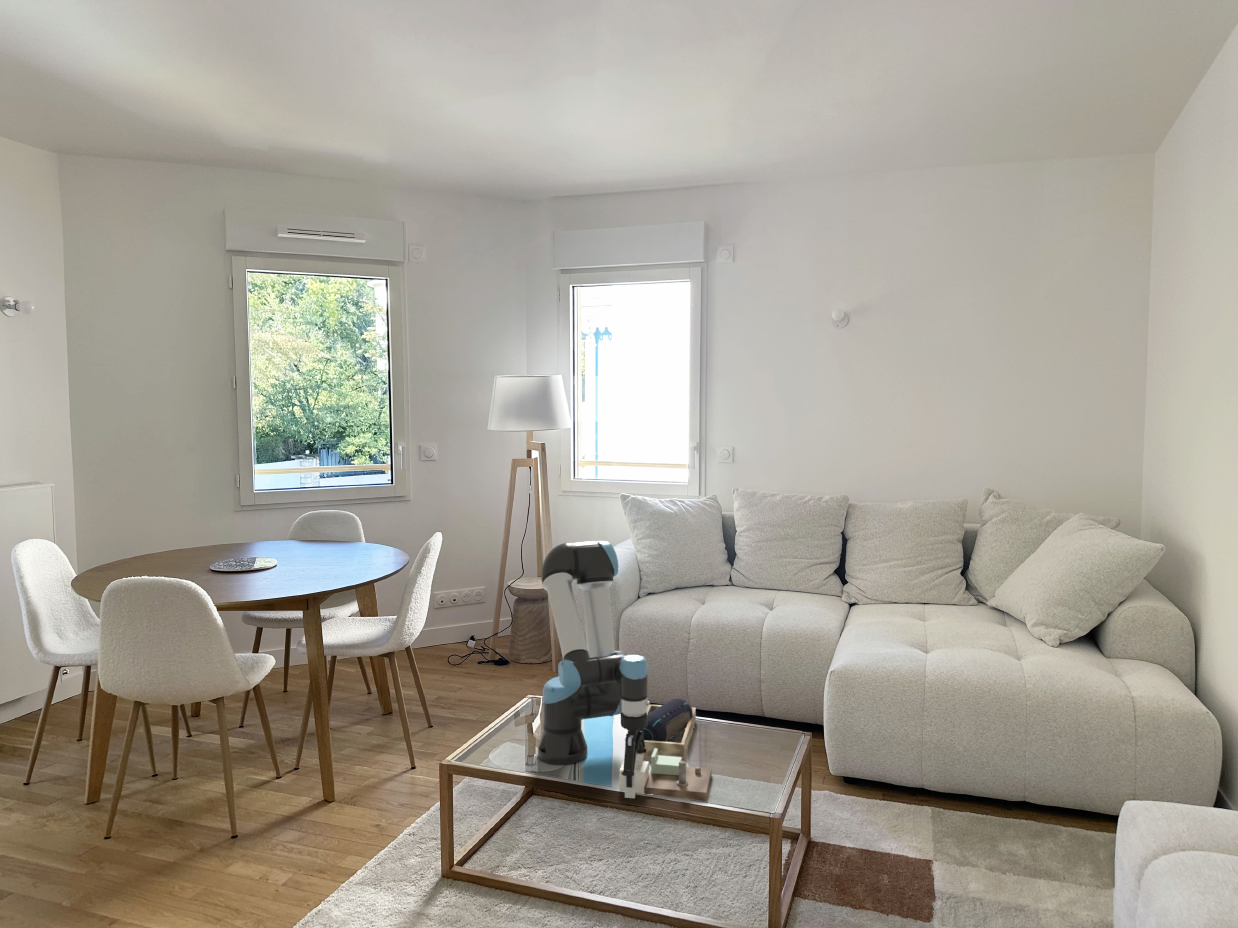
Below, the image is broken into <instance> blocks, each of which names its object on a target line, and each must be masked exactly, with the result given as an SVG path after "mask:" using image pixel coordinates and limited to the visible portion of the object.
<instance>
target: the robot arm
mask: <svg viewBox="0 0 1238 928" xmlns="http://www.w3.org/2000/svg"><path fill="white" fill-rule="evenodd" d="M543 560H544V561H543V563H542V566H541V572H540V576H541V584H542V588H543V589H544V590H545V591H546V592H547V595H548V600H549V603H550V608H551V613H552V616H553V621H554V624H555V629H556V630H555V631H556V633H557V638H558V641H559V647H560V650H561V654H562V660H561V661H559V662H558V664H557V666H558V667H557V673H558V676H556V677H552V678H551V679H549V680H547V682H545V684H544V686H543V688H542V690H543V691H542V699H541V700H542V723H543V724H542V725H543V727H542V728H543V729H542V730H543V731H542V734H541V737H540V740H539V743H538V747H537V757H538V759H539V760H541V761H542V762H544V763H546V764H552V765H562V766H564V765H570V764H575V763H579V762H581V761H583V760H584V759H586V757H587V756H588V744H587V742H586V738H585V736H584V733H583V729H582V720H589V719H590V720H591V719H596V718H603V717H604V718H605V717H614V716H617V715H620V726H621V727H622V728H623V729H624V730H627V733H626V735H625V738H624V741H625V743H624V746H625V747H624V758H623V762H624V770H623V772H622V775H623V776H625V792H624V798H625V799H626V798H627V799H628V798H629V799H636V793H635V774H634V769H635V761H645V758H644V754H642V753H646V749H644V748H645V741H644V733H643V729H644V728H646V727H647V725H648V714H647V707H648V705H651V703H650V701H649V700H648V673H649V669H648V660H647V659H646V657H645V656H643V655H638V654H627V653H625V652H624V651H622V650H621V651H620V650H616V649H615V638H614V628H613V615H612V604H611V594H610V593H611V592H610V587H611V586H612V584H613V583H614V578H615V577H616V576H617V575H618V573H619V559H618V555H617V553H616V549H615V548H614V546H613V545H612V543H610V542H609V541H606V540H591V541H589V540H588V541H579V542H564V543H560V544H558V545H556V546H555V547H553V548H552V549H551V550H550V551H549V552H548V553H547V554H546V557H545V558H544V559H543ZM574 580H576V586H577V587H578V588H579V589H580V590H581V591H582V602H583V612H584V613H583V615H584V624H585V634H584V629H583V625H582V621H581V617H580V614H579V609H578V607H577V606H578V605H577V603H576V598H575V594H574V590H573V587H572V585H573V583H574ZM636 752H637V753H636Z"/></svg>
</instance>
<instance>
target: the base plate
mask: <svg viewBox="0 0 1238 928" xmlns="http://www.w3.org/2000/svg"><path fill="white" fill-rule="evenodd" d="M711 779H712V768H708V767H707V768H705V767H700V766H695V767H692V766H687V762H686V761H685V760H684V761H680V762H679V776H678V775H666V774H654V773H651V770H650V771H649V776H648V779H647V781H646V784H645V787H644V793H643V794H644V795H647V794H653V795H652V796H658V795H659V797H660V796H662V797H670V798H682V799H683V798H684V799H691V800H693V799H694V800H704V801H705V800H707V799H708V793H709V788H710V784H711Z"/></svg>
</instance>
